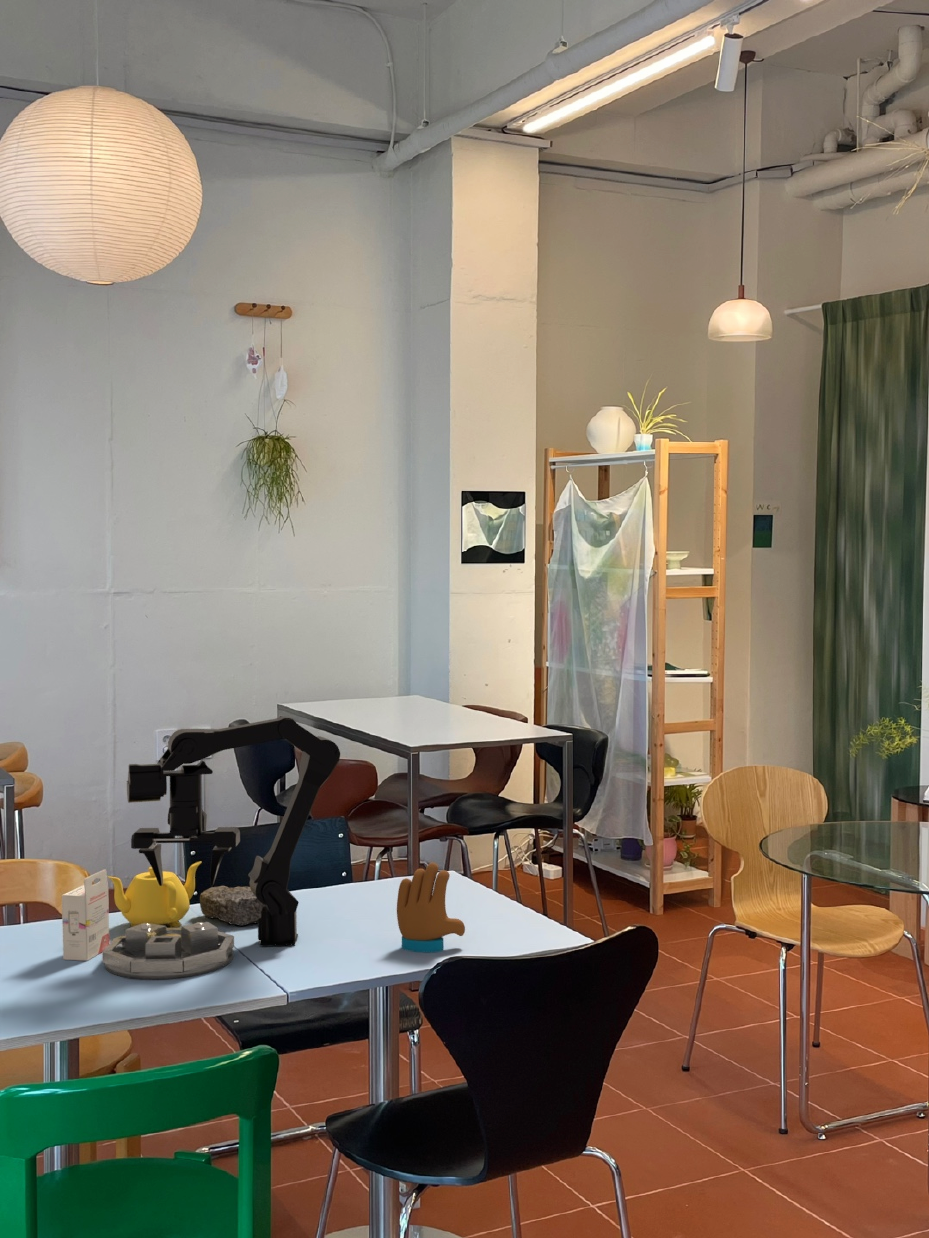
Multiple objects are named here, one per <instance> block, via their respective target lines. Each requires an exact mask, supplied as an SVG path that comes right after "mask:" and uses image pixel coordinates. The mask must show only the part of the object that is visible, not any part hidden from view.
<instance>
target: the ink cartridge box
mask: <svg viewBox="0 0 929 1238" xmlns="http://www.w3.org/2000/svg"><path fill="white" fill-rule="evenodd" d="M107 873H108V872H107V869H106V868H105V869H102V870H100V871H97V872H95V873H93V874H91V875H90V876H87V877H85V878H83V884H82V885H80V886H78V887H77V888H73V889H72V890H70V891H68V892H66V893H64V894H61V915H62V916H61V918H62V946H63V947H62V952H63V953H62V954H63V955H62V959H63V960H64V961H65V960H66V961H67V960H68V961H81V962H83V961H84V962H85V961H86V962H87V961H90V960H91V959H93V958H94V957H96V956H97V955H99V954H101V953H102V952H103V950H104V949H105V948H106V947H107V946H108V945H109V944H110V915H109V914H110V913H109V912H110V911H109V910H110V909H109V906H110V905H109V884H108V877H107V876H108V874H107ZM98 879H99V881H98V882H96V883H94V884H93V882H95V880H98Z"/></svg>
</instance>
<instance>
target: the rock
mask: <svg viewBox="0 0 929 1238" xmlns="http://www.w3.org/2000/svg"><path fill="white" fill-rule="evenodd" d="M199 905H200V911H201V913H202V915H204V916H205V917H206V918H210V919H213V918H215V919H216V918H218V919H219V920H221V921H223V922H225V923H229V924H231V925H237V926H242V927H244V926H245V925H246V926H247V925H249V924H258V918H259V916H260V915H261V910H262V908H263V907H264V905H263V904H262V903H261V902H260V901H259V900H258V899H257V898H256V896H255V895H254V894H253V892H252V890H251V888H250V886H239V885H238V886H236V887H228V886H225V885H220V886H214V887H213V886H211V887H210V888H207V889H205V890H203V892H201V893H200V896H199Z"/></svg>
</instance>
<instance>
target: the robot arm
mask: <svg viewBox="0 0 929 1238" xmlns="http://www.w3.org/2000/svg"><path fill="white" fill-rule="evenodd" d="M278 740H285V741H287V742H288V743H289V744H291V745H292V746H293V747H295V748H296V749H298V750H299V751H301V753H302V754H301V757H300V762H299V769H298V771H299V772H298V780H297V782H296V785H295V788H294V790H293V792H292V795H291V797H290V800H289V803H288V805H287V807H286V808H285V809H286V810H285V812H284V814H283V815H284V816H283V817H282V820H281V821H280V825H279V826H278V829H277V833H276V835H275V837H274V840H273V842H272V844H271V847H270V849H269V851H268V852H267V853H266V854H265V855H264V856H263V857H261V856H259V855H256V856H255V859H254V864H253V867H252V868H251V870H250V872H249V873H248V878H249V887H250V888H251V890H252V892H253V894H254V895H255V896H256V898H257V899H258V900H259V901H260V902H261V903H262V904H263V905H264V907H263V908H262V910H261V915H260V916H259V918H258V923H257V939H258V941H259V946H260V947H265V946H266V947H270V946H272V947H273V946H274V947H276V946H279V947H281V946H282V947H283V946H295V945H296V943H297V940H298V937H299V933H297V931H298V930H297V927H298V926H297V923H298V922H297V909H298V906H299V901H298V900H297V898H296V897H295V896H294V895H293V894H292V893H291V891H289V889H288V887H289V886H288V885H289V881H290V874H291V865H292V858H293V855H294V854H295V850H296V848H297V846H298V843H299V841H300V839H301V836H302V833H303V831H304V828H305V826H306V823H307V821H308V818H309V817H310V813H311V810H312V808H313V806H314V803H315V801H316V798H317V796H318V794H319V792H320V789H321V788H322V786H323V785H324V784H325V783H326V782H327V781H328V780H329V777H330V776H332V773H333V772H334V770H335V768H336V767H337V766H338V763H339V761H340V758H341V750H340V749H339V746H338V745H337V744H336V743H335V742H334V741H332V740H330V739H328V738H326V737H324V736H319V735H318V736H316V735H314V734H313V733H312V732H310V731H308V730H307V729H305V728H304V727H303V726H301V725H300V724H298V723H297V721H296V720H294V719H293V718H291V717H290V716H287V715H281V716H278V717H276V718H271V719H267V720H261V721H255V722H250V723H246V724H239V725H234V726H228V727H224V728H216V729H215V728H213V729H212V728H209V729H208V728H181V729H178V730H175V731H174V732H172V734H171V736H170V737H169V738H168V742H167V749H165V751H164V753H162V755H161V757H160V758H159V759H158V761H157V762H156V763H153V764H152V763H149V764H138V763H130V764H128V765H127V767H128V772H127V780H126V799H127V803H129V804H130V803H144V802H145V803H146V802H147V803H148V802H149V803H150V802H160V801H161V798H163V797H164V796H165V795H167V793H168V792H167V791H168V784H167V783H168V782H167V781H168V780H167V779H168V778H167V777H169V808H168V812H167V824H168V826H169V832H160V828H159V827H139V828H138V829H137V830H136V831H135V832H134V833H133V834H132V835H131V839H130V848H131V849H133V850H137V849H138V854H143V855H144V856H145V858H146V860H147V862H148V863H149V865H150V867H152V869H153V871H154V874H155V876H156V879H157V881H158V883H159V885H160V886H162V885H163V871H164V870H163V864H162V844H184V843H185V844H190V843H200V844H201V843H202V844H203V843H204V844H205V843H213V844H214V845H215V846H214V847H213V849H212V850H211V858H210V859H211V862H210V873H209V876H210V877H209V881H210V886H213V885H214V884H215V880H216V878H217V874H218V871H219V868H220V864H221V862H222V859H223V857H224V854H225V853H229V852H230V851H231V850H232V848H237V846H238V845H239V844H240V842H241V832H240V829H239V828H238V827H237V826H219V827H217V828H216V829H215V831H209V832H208V831H207V819H208V818H207V813H206V812H205V811H204V809H203V787H202V786H203V782H202V777H203V776H202V775H213V772H214V770H213V769H211V768H210V767H209V766H208V765H207V764H206V762H205V759H206V758H207V759H208V758H209V757H210V756H211V757H212V756H214V755H216V754H217V753H220V752H222V751H225V750H226V751H227V750H231V749H237V748H241V747H247V746H252V745H257V744H263V743H268V742H273V741H278ZM196 762H198V763H197V764H193V763H196ZM179 767H180V768H181V769H178V768H179Z"/></svg>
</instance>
